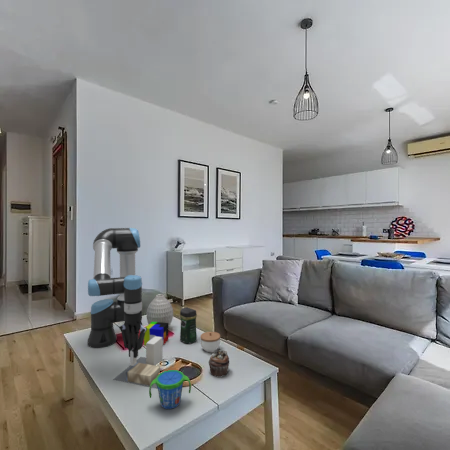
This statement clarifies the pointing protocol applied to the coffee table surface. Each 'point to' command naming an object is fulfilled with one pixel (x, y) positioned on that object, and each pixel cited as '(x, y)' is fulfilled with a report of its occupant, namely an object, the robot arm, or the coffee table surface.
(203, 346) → the lidded jar
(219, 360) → the cupcake
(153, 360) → the cream slab
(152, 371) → the oak slab
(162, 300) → the vase
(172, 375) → the snack cup
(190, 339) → the coffee jar
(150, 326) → the puzzle toy
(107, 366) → the coffee table surface
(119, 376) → the mat
